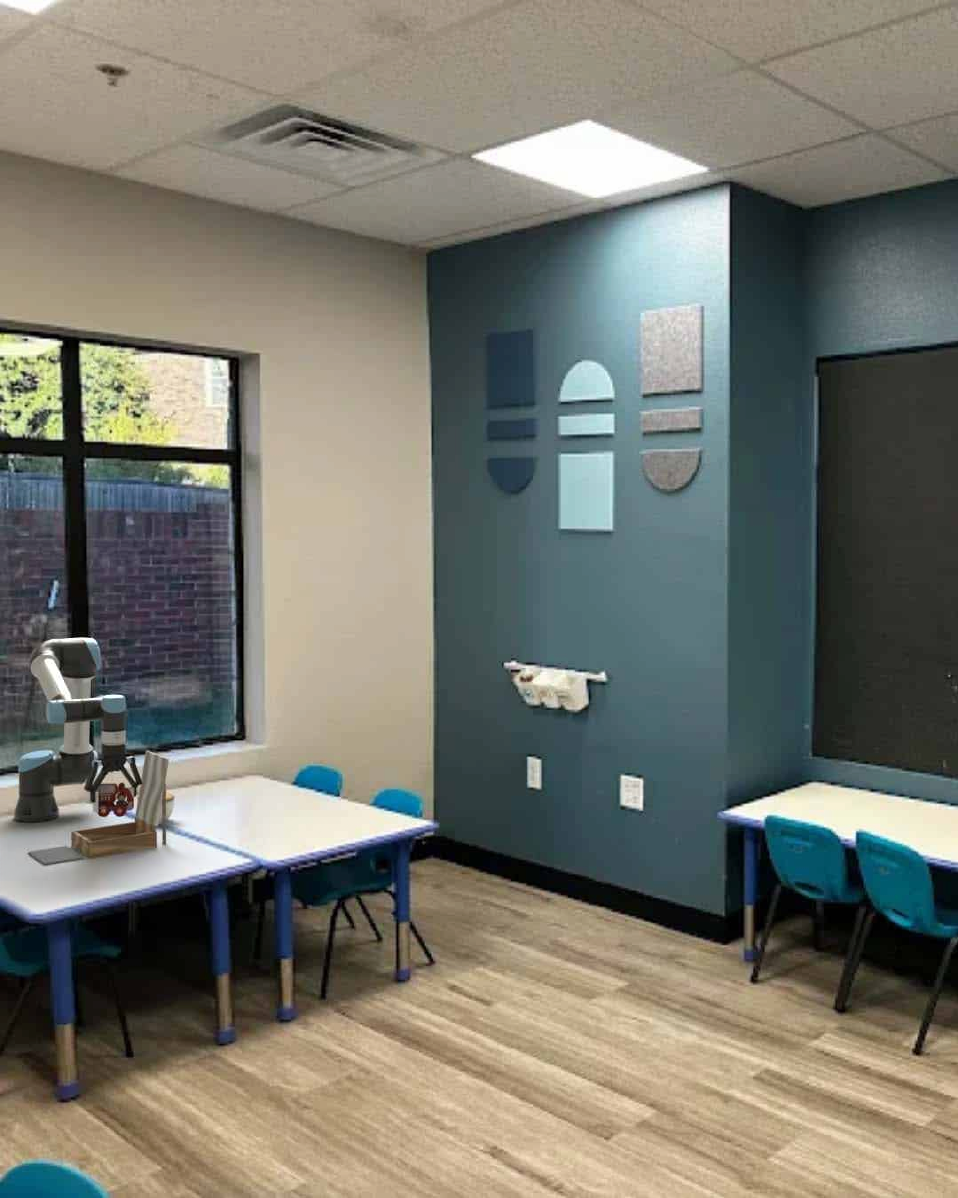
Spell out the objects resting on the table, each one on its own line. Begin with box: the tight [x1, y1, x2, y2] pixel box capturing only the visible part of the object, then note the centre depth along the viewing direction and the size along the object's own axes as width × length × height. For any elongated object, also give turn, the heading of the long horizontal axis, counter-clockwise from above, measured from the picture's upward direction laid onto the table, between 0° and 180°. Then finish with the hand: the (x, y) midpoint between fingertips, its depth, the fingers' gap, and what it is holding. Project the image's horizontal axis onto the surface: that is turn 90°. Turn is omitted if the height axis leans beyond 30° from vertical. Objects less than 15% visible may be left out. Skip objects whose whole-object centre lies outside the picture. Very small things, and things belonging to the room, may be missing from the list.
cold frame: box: [70, 750, 170, 859], centre depth 378 cm, size 17×26×29 cm, turn 129°
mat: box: [27, 845, 84, 866], centre depth 365 cm, size 16×12×1 cm
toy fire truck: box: [96, 782, 135, 818], centre depth 377 cm, size 7×12×10 cm, turn 99°
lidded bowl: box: [136, 792, 175, 825], centre depth 410 cm, size 13×13×11 cm
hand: (113, 809), depth 377 cm, fingers closed on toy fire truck, 11 cm apart
